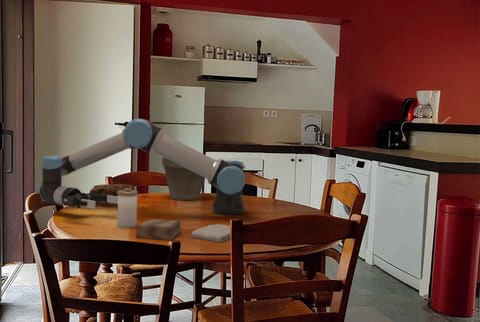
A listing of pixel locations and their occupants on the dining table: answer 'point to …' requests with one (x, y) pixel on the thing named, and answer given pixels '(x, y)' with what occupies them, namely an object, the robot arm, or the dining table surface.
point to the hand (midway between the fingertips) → (107, 202)
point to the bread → (108, 189)
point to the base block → (158, 229)
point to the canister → (127, 208)
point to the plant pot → (182, 181)
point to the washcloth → (213, 233)
